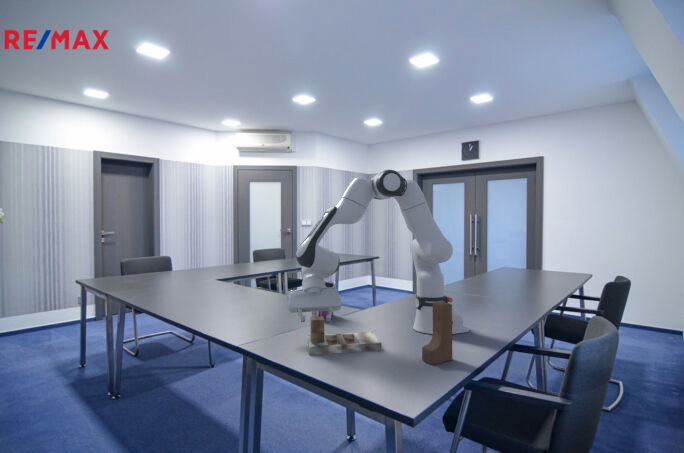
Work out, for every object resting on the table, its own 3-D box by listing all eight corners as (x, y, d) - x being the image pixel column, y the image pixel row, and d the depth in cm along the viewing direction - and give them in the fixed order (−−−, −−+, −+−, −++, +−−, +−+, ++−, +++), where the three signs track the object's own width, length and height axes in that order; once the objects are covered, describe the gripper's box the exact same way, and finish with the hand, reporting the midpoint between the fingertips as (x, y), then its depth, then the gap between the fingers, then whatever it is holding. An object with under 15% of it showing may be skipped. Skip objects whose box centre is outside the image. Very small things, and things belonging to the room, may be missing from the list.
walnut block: (322, 338, 125) (322, 316, 125) (324, 342, 120) (324, 319, 120) (310, 339, 124) (310, 316, 124) (311, 343, 119) (311, 320, 119)
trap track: (372, 338, 132) (371, 331, 132) (381, 350, 119) (381, 342, 119) (306, 342, 128) (306, 335, 128) (309, 355, 115) (309, 347, 115)
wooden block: (431, 365, 106) (431, 307, 106) (421, 360, 110) (421, 304, 110) (452, 360, 110) (452, 304, 110) (442, 355, 114) (442, 301, 114)
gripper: (287, 285, 132) (287, 317, 122) (339, 283, 135) (344, 314, 126) (287, 294, 136) (287, 326, 127) (337, 292, 140) (342, 323, 130)
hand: (316, 320), depth 126 cm, fingers open, 8 cm apart
